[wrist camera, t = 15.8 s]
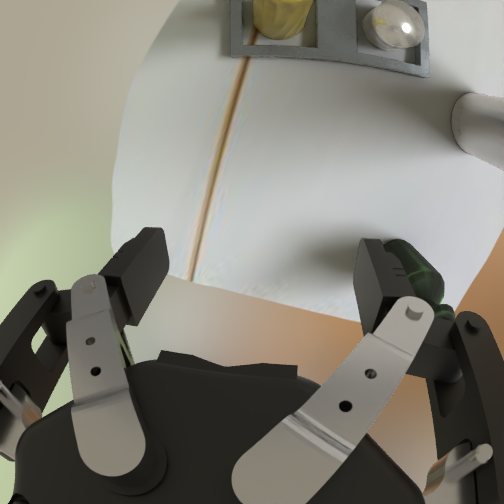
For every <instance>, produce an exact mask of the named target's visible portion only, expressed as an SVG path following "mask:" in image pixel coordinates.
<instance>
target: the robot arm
mask: <svg viewBox="0 0 504 504" xmlns="http://www.w3.org/2000/svg"><path fill="white" fill-rule="evenodd" d="M451 125H452V131H453V134H454V138H455V140H456V142H457V143H458V145H459V146H460V147H461V148H462V149H463V150H464V151H465V152H467V153H469V154H471V155H473V156H475V157H477V158H479V159H482V160H483V161H485V162H487V163H489V164H491V165H493V166H495V167H497V168H499V169H501V170H503V171H504V98H500V97H495V96H490V95H484V94H477V93H467V94H465V95H463V96H461V97H460V98H459V99H458V100H457V102H456V104H455V105H454V108H453V111H452V117H451ZM168 270H169V256H168V251H167V245H166V240H165V234H164V231H163V229H162V228H156V227H145V228H143V229H142V230H141V231H140V233H139V234H138V235H137V236H136V237H135V238H133V239H131V240H129V241H128V242H126V243H125V244H123V246H122V247H121V248H120V249H119V250H118V252H116V253H115V255H114V256H113V258H111V259H110V261H109V262H108V263H107V264H106V265H105V266H104V267H103V269H102V270H101V271H100V272H99V273H98V274H97V275H96V274H92V275H87V276H84V277H82V278H80V279H79V280H77V281H76V282H75V283H74V284H73V286H72V288H71V289H70V290H61V291H58V290H57V287H56V285H55V283H54V282H53V281H52V280H42V281H40V282H37V283H36V284H34V285H33V286H31V288H30V289H29V290H28V291H27V292H26V293H25V294H24V296H23V297H22V298H21V299H20V301H19V302H18V303H17V304H16V305H15V307H14V308H13V309H12V310H11V312H10V313H9V314H8V315H7V317H6V318H5V319H4V321H3V322H2V323H1V325H0V455H1V456H3V457H4V458H5V459H7V460H9V461H15V484H14V491H13V495H12V498H11V500H10V501H9V503H8V504H504V361H503V358H502V355H501V353H500V351H499V348H498V346H497V343H496V341H495V339H494V337H493V334H492V332H491V330H490V328H489V326H488V324H487V322H486V321H485V320H484V319H483V318H482V317H481V316H480V315H478V314H476V313H474V312H470V311H464V312H460V313H459V314H458V315H457V317H456V319H455V321H450V320H446V319H442V318H439V317H436V316H434V311H433V309H432V308H431V306H430V305H429V304H428V303H427V302H425V301H424V300H422V299H419V298H417V297H416V295H415V293H414V290H413V288H412V286H411V284H410V281H409V279H408V277H406V273H405V270H403V266H402V264H401V262H400V260H399V259H398V258H397V257H396V256H395V255H394V254H393V253H391V252H386V251H385V249H384V247H383V245H382V243H381V241H380V239H367V238H362V239H361V240H360V244H359V249H358V254H357V259H356V264H355V269H354V276H353V285H354V290H355V295H356V300H357V304H358V309H359V314H360V319H361V325H362V330H363V335H364V338H363V339H362V340H361V341H360V342H359V344H358V345H357V346H356V347H355V349H354V350H353V351H352V352H351V354H350V355H349V356H348V357H347V358H346V359H345V360H344V362H343V363H342V364H341V365H340V366H339V368H337V369H336V371H335V372H334V373H333V374H332V375H331V376H330V377H329V378H328V380H327V381H326V382H325V383H324V384H323V385H322V386H320V385H319V384H317V383H315V382H313V381H311V380H309V379H306V378H304V377H301V376H297V367H298V366H297V365H280V364H268V363H260V364H251V365H240V366H230V367H224V366H221V365H218V364H215V363H212V362H209V361H207V360H204V359H201V358H198V357H196V356H193V355H189V354H182V353H175V352H169V351H163V350H161V352H160V354H159V357H158V359H157V360H149V361H144V362H140V363H137V364H135V363H134V360H133V357H132V354H131V351H130V347H129V344H128V341H127V337H126V334H125V332H124V327H125V325H132V326H138V324H139V322H140V320H141V319H142V317H143V315H144V313H145V311H146V310H147V308H148V306H149V304H150V303H151V301H152V299H153V297H154V296H155V294H156V292H157V290H158V289H159V287H160V285H161V284H162V282H163V280H164V278H165V276H166V275H167V273H168ZM41 326H42V328H43V330H44V331H45V333H46V335H47V336H46V338H45V339H44V341H43V343H42V344H41V346H40V348H39V349H38V351H37V352H36V354H34V352H33V350H32V348H31V342H32V339H33V337H34V335H35V334H36V332H37V331H38V329H39V328H40V327H41ZM68 361H69V368H70V377H71V384H72V391H73V398H74V400H72V401H70V402H69V403H67V404H65V405H64V406H62V407H60V408H58V409H57V410H55V411H53V412H51V413H49V414H48V415H46V416H44V417H43V418H42V412H43V410H44V408H45V406H46V404H47V402H48V400H49V398H50V396H51V394H52V392H53V390H54V388H55V386H56V384H57V382H58V379H59V378H60V376H61V374H62V373H63V371H64V369H65V367H66V365H67V363H68ZM405 374H409V375H413V376H418V377H422V378H426V383H427V388H428V394H429V399H430V405H431V411H432V417H433V424H434V432H435V438H436V448H437V458H438V461H437V462H435V463H434V464H433V466H432V467H431V468H430V470H429V472H428V475H427V482H426V487H425V489H424V492H423V493H422V492H421V490H420V489H419V487H418V486H417V485H416V484H415V483H414V482H413V481H412V480H411V479H410V478H409V476H408V475H407V474H405V472H404V471H403V470H402V469H401V468H400V467H399V466H398V465H397V464H396V463H395V462H394V461H393V460H392V459H391V458H390V457H389V456H388V455H387V454H386V452H385V451H383V449H382V448H381V447H380V446H379V445H378V444H377V443H376V442H375V441H374V440H373V439H372V438H371V437H370V435H369V434H368V433H367V431H368V430H369V429H370V427H371V426H372V424H373V423H374V422H375V420H376V419H377V417H378V416H379V414H380V413H381V411H382V410H383V408H384V407H385V405H386V404H387V402H388V401H389V399H390V397H391V396H392V395H393V393H394V391H395V390H396V388H397V386H398V384H399V383H400V381H401V380H402V378H403V376H404V375H405ZM463 377H464V378H463Z"/></svg>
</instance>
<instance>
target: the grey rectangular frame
mask: <svg viewBox="0 0 504 504" xmlns="http://www.w3.org/2000/svg"><path fill="white" fill-rule="evenodd" d="M379 1H383V3H381V4H380V5H378V6H377V7H375V8H374V9H372V10H371V11H369V12H368V13H367V14H366V15H365V17H364V19H363V30H364V33H365V35H366V37H367V39H368V40H369V41H370V42H371V43H372V44H373V45H374V46H376V47H377V48H379V49H382V50H385V51H396V50H400V49H404V48H409V47H413V46H415V65H414V64H410V63H406V62H402V61H397V60H393V59H388V58H383V57H378V56H373V55H367V54H361V53H357V33H356V5H355V0H315V9H316V48H312V47H298V46H273V45H247V46H243V28H242V0H230V56H231V57H287V58H305V59H318V60H329V61H338V62H346V63H353V64H360V65H366V66H372V67H378V68H383V69H388V70H393V71H398V72H402V73H406V74H411V75H415V76H419V77H423V78H429V33H428V16H427V4H426V2H423V1H420V0H379Z"/></svg>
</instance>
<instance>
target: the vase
mask: <svg viewBox="0 0 504 504" xmlns="http://www.w3.org/2000/svg"><path fill="white" fill-rule="evenodd" d="M312 3H313V0H253V15H252V17H253V23H254V25H255V27H256V28H257V29H258V30H259V32H260V33H262V34H263V35H265V36H267V37H269V38H272V39H281V40H282V39H288V38H291V37H293V36H295V35H297V34H298V33H299V32H300V31H301V30H302V29H303V27H304V25H305V22H306V17H307V14H308V12H309V9H310V7H311V5H312Z"/></svg>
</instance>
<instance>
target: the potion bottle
mask: <svg viewBox="0 0 504 504" xmlns="http://www.w3.org/2000/svg"><path fill="white" fill-rule="evenodd" d="M383 247H384V249H385V251H386V252H391V253H393V254H394V255H395V256H396V257H397V258H398V259H399V260H400V262H401V264H402V266H403V270H405V273H406V277H408V279H409V281H410V284H411V286H412V288H413V290H414V293H415V295H416V297H417V298H419V299H422V300H424V301H425V302H427V303H428V304H429V305H430V306H431V308H432V309H433V311H434V316H436V317H439V318H442V319H446V320H450V321H455V314H454V310H453V308H452V307H451V306H449V305H447V304H441V302H442V300H443V298H444V281H443V278H442V276H441V275H440V273H439V272H438V271H437V270H436V269H435V268H434V267H433V266H432V265H431V264H430V263H429V262H428V261H427V260H426V259H425V258H424V257H423V256H422V255H421V254H420V253H419V252H418V251H417V250H416V249H415V248H414V247H413V246H412V245H411V244H410V243H408V242H406V241H405V240H394V241H391V242H389V243H387V244H386V245H385V246H383Z"/></svg>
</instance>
